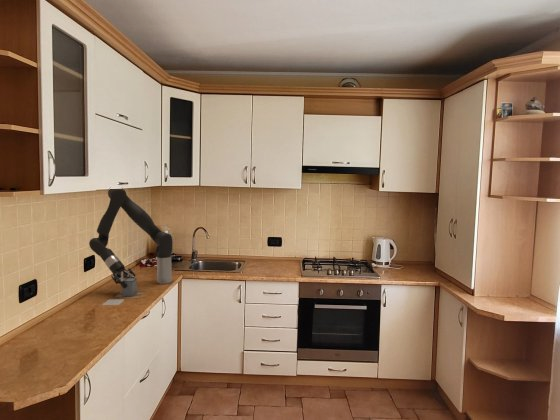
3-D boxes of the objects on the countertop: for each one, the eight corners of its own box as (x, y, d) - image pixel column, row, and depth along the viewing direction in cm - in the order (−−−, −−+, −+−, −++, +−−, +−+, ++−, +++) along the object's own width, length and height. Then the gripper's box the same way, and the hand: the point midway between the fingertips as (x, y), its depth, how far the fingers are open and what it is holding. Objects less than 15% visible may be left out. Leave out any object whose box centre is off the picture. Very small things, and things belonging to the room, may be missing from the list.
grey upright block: (126, 292, 225) (126, 278, 224) (136, 293, 225) (136, 278, 224) (121, 296, 219) (121, 280, 218) (132, 296, 219) (132, 281, 218)
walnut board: (122, 292, 229) (122, 290, 229) (145, 292, 229) (145, 290, 229) (112, 300, 215) (112, 298, 215) (137, 300, 215) (137, 298, 215)
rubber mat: (108, 301, 213) (108, 299, 213) (125, 301, 214) (124, 299, 214) (101, 306, 204) (101, 304, 204) (118, 306, 205) (118, 304, 205)
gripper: (109, 263, 216) (126, 284, 213) (126, 257, 229) (142, 278, 227) (101, 271, 218) (118, 293, 215) (119, 265, 231) (135, 286, 229)
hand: (131, 285), depth 221 cm, fingers open, 8 cm apart
